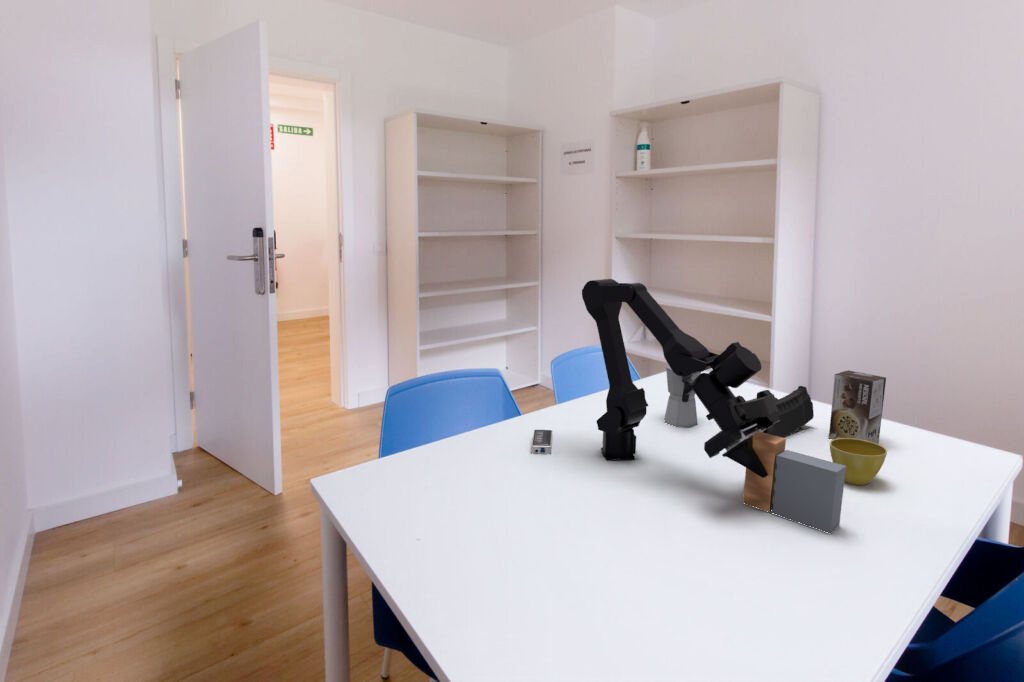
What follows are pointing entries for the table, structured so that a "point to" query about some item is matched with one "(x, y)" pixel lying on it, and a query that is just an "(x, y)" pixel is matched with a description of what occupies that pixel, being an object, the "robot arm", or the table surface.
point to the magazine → (793, 412)
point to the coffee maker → (680, 401)
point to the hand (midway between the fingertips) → (771, 473)
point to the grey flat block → (808, 490)
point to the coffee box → (857, 406)
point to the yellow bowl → (858, 458)
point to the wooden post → (767, 451)
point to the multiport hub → (541, 442)
